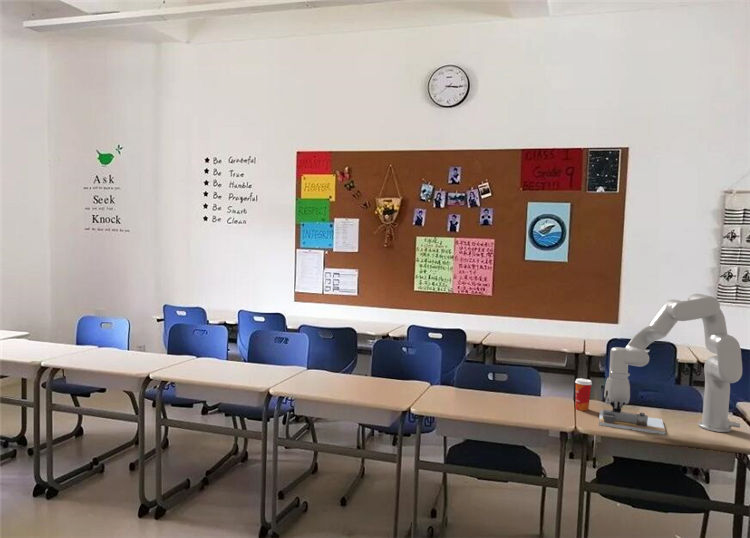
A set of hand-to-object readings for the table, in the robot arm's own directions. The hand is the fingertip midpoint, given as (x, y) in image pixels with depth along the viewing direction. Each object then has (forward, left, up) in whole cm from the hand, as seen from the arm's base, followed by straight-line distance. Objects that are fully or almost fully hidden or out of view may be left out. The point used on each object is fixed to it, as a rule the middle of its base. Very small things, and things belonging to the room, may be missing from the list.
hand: (616, 416), depth 261 cm
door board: (-6, -1, -2) cm, 7 cm away
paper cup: (+15, -13, -3) cm, 20 cm away
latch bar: (-3, +4, -1) cm, 5 cm away
